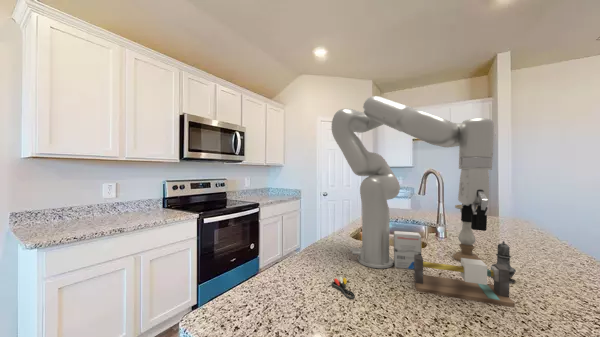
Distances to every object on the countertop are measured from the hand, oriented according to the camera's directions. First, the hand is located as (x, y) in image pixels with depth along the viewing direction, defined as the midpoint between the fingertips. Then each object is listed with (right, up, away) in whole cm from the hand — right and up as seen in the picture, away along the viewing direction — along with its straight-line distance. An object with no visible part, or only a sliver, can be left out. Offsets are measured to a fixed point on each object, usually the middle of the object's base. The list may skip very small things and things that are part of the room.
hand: (472, 225), depth 68 cm
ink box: (-11, -19, +18) cm, 28 cm away
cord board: (-3, -18, +1) cm, 19 cm away
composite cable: (-36, -19, +1) cm, 41 cm away
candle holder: (+15, -19, +24) cm, 34 cm away
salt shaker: (+15, -19, +8) cm, 25 cm away
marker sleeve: (0, -15, 0) cm, 15 cm away
